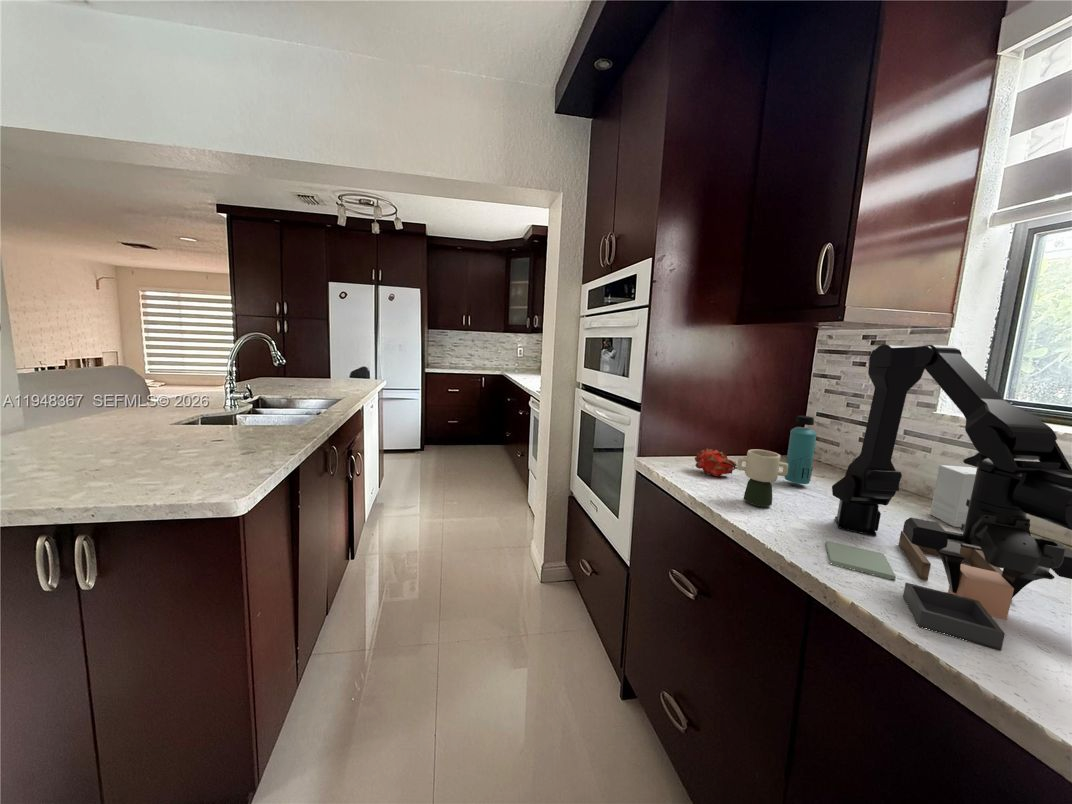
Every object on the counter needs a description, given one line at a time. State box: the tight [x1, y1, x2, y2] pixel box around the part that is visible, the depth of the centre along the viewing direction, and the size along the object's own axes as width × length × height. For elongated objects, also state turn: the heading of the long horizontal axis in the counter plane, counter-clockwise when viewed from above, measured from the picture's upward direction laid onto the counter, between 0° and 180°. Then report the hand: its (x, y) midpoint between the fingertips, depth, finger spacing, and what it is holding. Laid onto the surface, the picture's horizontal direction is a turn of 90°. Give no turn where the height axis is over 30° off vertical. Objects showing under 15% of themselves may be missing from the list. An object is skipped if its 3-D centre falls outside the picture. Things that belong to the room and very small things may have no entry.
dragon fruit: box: [694, 448, 738, 479], centre depth 122 cm, size 8×8×12 cm
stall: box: [898, 530, 1013, 602], centre depth 74 cm, size 11×14×3 cm
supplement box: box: [929, 464, 977, 528], centre depth 94 cm, size 7×7×13 cm
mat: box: [824, 539, 897, 581], centre depth 75 cm, size 9×9×1 cm
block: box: [947, 563, 1014, 620], centre depth 63 cm, size 5×5×5 cm
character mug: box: [736, 448, 788, 508], centre depth 100 cm, size 11×7×13 cm, turn 69°
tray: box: [902, 582, 1006, 652], centre depth 59 cm, size 8×8×2 cm
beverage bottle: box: [783, 415, 818, 485], centre depth 115 cm, size 6×7×20 cm
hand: (976, 597), depth 64 cm, fingers closed on block, 5 cm apart
